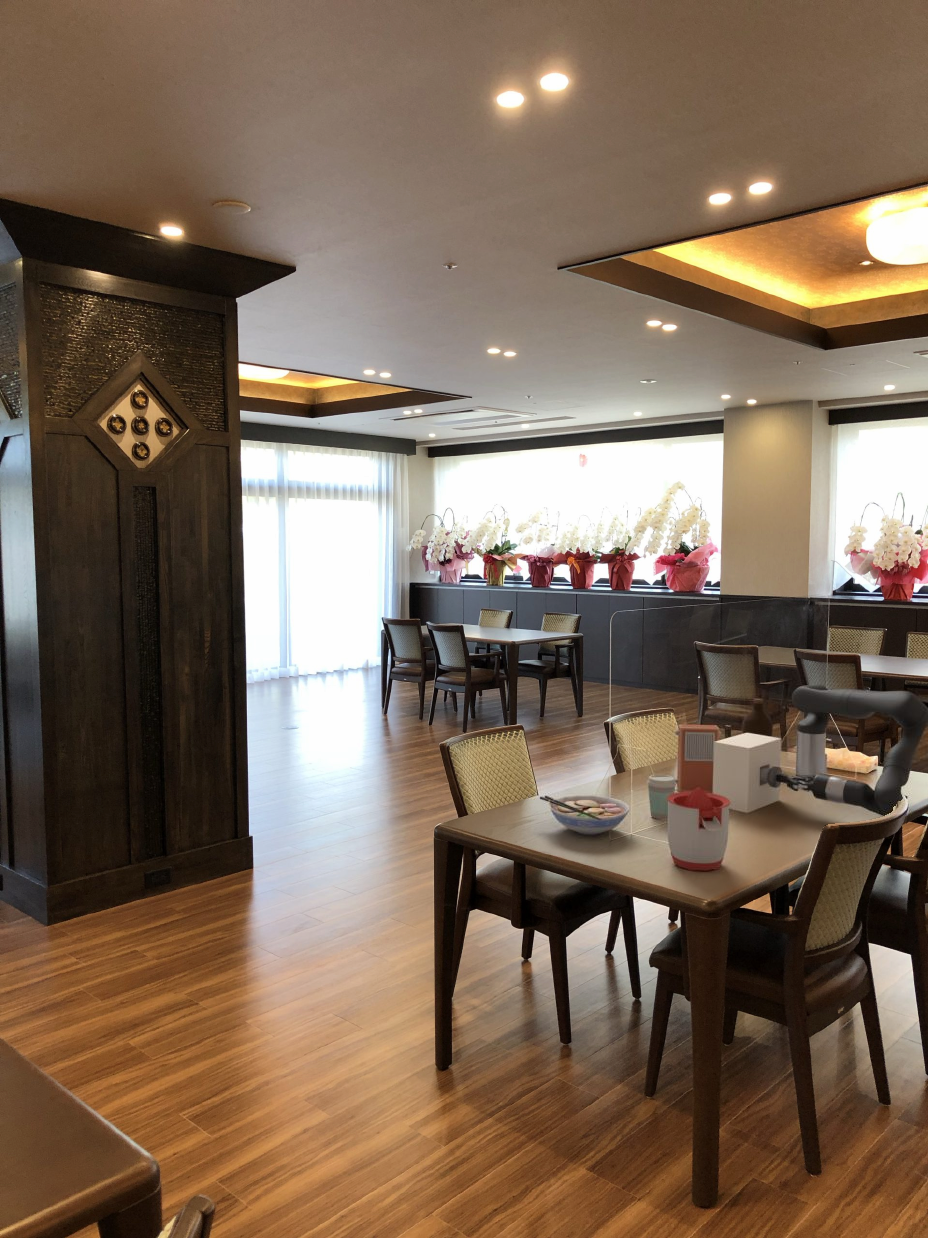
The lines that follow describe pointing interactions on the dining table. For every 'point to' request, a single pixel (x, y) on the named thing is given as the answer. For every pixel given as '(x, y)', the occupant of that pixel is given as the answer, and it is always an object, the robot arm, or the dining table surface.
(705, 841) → the citrus juicer
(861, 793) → the robot arm
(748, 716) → the olive oil
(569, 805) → the ramen bowl
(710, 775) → the orange radio
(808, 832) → the dining table surface
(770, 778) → the knob
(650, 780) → the coffee cup
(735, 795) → the knob mount
